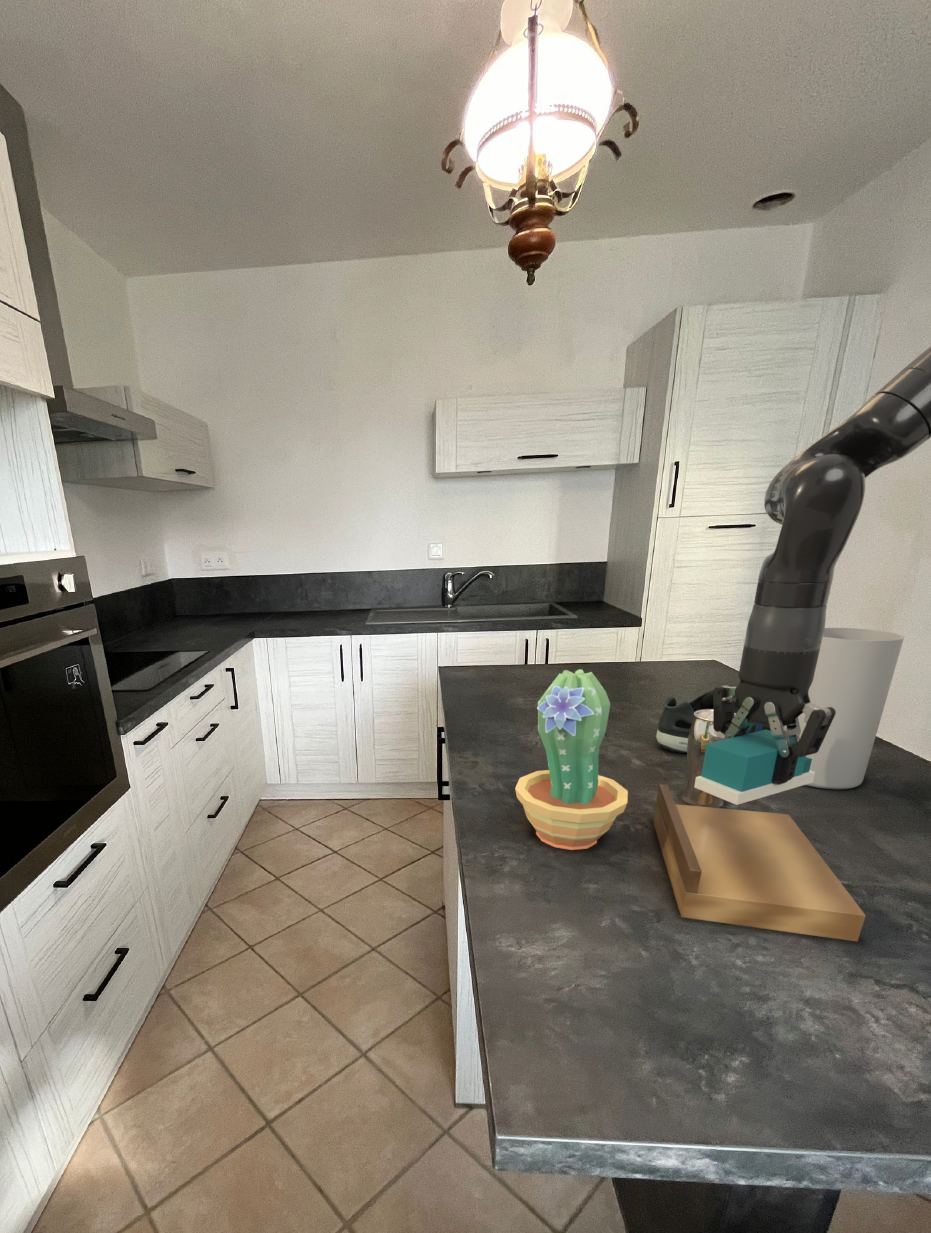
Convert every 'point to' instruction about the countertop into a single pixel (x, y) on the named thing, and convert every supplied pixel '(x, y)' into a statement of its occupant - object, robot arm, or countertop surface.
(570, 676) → the potted cactus
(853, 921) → the wooden board with lip
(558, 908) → the countertop surface
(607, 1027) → the countertop surface
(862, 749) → the cylinder vase
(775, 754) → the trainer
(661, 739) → the water shoe
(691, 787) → the silver metal cup
